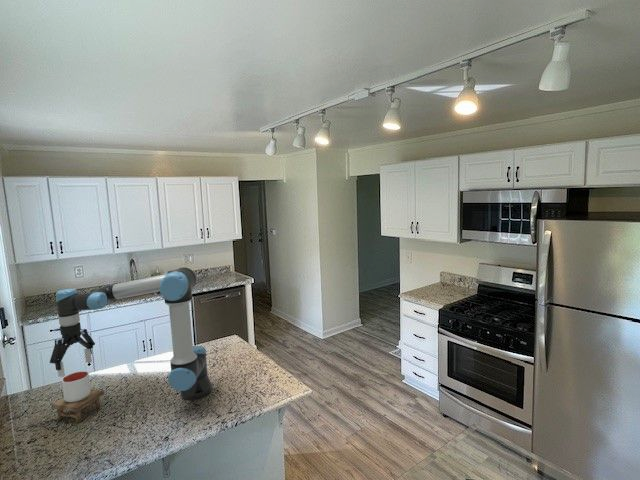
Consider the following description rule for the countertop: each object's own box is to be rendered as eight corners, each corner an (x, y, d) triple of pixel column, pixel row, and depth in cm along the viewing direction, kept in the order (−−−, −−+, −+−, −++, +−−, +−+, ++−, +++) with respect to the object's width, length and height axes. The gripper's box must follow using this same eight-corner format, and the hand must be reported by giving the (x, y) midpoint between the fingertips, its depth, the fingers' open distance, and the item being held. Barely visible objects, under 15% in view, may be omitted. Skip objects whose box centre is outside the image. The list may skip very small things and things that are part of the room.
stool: (105, 406, 166) (103, 390, 166) (78, 424, 153) (76, 407, 152) (81, 403, 170) (79, 387, 169) (53, 421, 156) (51, 404, 155)
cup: (77, 404, 154) (75, 383, 153) (58, 402, 156) (56, 381, 155) (96, 392, 164) (93, 372, 163) (77, 390, 166) (75, 370, 165)
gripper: (87, 314, 170) (92, 356, 172) (35, 333, 146) (41, 382, 148) (100, 314, 168) (105, 357, 170) (49, 334, 144) (55, 383, 146)
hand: (75, 368), depth 159 cm, fingers open, 13 cm apart
